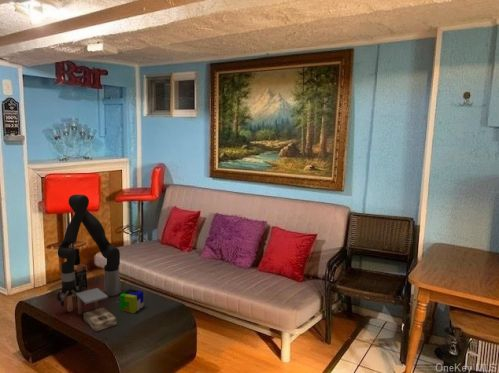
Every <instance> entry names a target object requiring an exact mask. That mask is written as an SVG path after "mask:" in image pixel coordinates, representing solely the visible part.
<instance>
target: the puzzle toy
mask: <svg viewBox="0 0 499 373" xmlns="http://www.w3.org/2000/svg"><path fill="white" fill-rule="evenodd" d="M144 304H145V303H144V291H142V290H137V289H130V288H129V289H128V290H127V291H125V292H123V293H122V294H121V293H120V295H119V305H120V307H119V309H120V311H122V312H125V311H126V313H131V314H136V313H137V312H138V311H139V310H141V309H142V308H143V307H144ZM140 308H141V309H140ZM136 311H137V312H136Z"/></svg>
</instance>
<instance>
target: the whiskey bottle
mask: <svg viewBox="0 0 499 373" xmlns="http://www.w3.org/2000/svg"><path fill="white" fill-rule="evenodd" d="M74 249H75V250H76V258H75V263H74V273H75V286H78V285H80V286H81V292H83V291H87V290H89V287H88V275H87V265H86V264H83V263H82V262H81V256H80V248H74ZM74 292H75V293H78V289H77V288H76V290H75V291H74ZM72 299H75V295H74V294H72Z"/></svg>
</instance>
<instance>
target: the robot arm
mask: <svg viewBox="0 0 499 373" xmlns="http://www.w3.org/2000/svg"><path fill="white" fill-rule="evenodd" d="M89 203H90V199H89V197H88V196H87V195H85V194H72V195H71V196H69V197H68V206H69V207H70V208H71V210H72V211H73V213H74V215H73V217H72V219H71V220H70V222H69V223H68V225H67V227H66V230H65V234H64V238H63V240H62V241H61V243H60V245H59V246H58V249H57V256H58V257H59V258H60V259H65V260H66V261H64V262H62V263H61V266H60V268H61V274H60V275H61V290H59V289H58V290H56V291H55V293H56V301H58V302H60V306H61V307H62V308H64V307H65V302H64V300H65V299H66V298H67V296H68V295H72V294H74V295H75V298H74V301H75V304H78V302H77V296H76V293H75V292H74V291H75V290H76V288H77V289H78V293H80V292H81V286H80V285H78V286H75V273H74V263H75V258H76V250H75V248H74V247H70V246H71V245H72V244H75V243H76V242H77V240H78V236H79V235H78V234H79V231H80V227H81V224H82V225H83V227H84V228H85V229H86V231H87V233H88V234H89V236H90V237H91V239H92V240H93V241H94V243H95V244H96V246H97V247H98V249H99V252H100V254H101V255H102V257H103V258H104V259H106V264H105V265H104V268H103V269H104V271H103V272H104V274H103V275H104V294H106V295H107V296H108V297H114V296H117V295H119V294H121V293H122V287H121V279H120V271H119V270H120V268H119V267H120V263H121V251H120V249H119V248H118V247H116V246H115V245H112V244H111V243H110V242H109V240H108V239H107V236H106V233H105V228H104V226H103V224H102V223H101V222H100V220H99V219H98V218H97V217H95V216H94V215H93V214H92V212H90V211H89V210H88V208H89V205H90V204H89Z"/></svg>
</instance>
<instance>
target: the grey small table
mask: <svg viewBox="0 0 499 373" xmlns="http://www.w3.org/2000/svg"><path fill="white" fill-rule="evenodd" d="M76 296H77V314H78V315H82V313H83V312H82V311H83V310H82V303H84V304H85V305H88V304H92V303H94V310H96V309H99V301H101V300H102V301H103V300H105V299H108V298H109V296H107V295H106V294H105V292H103V291H102V290H101V289H100V288H98V287H96V288H91V289H88V290H87V291H83V292H80V293H76Z"/></svg>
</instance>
